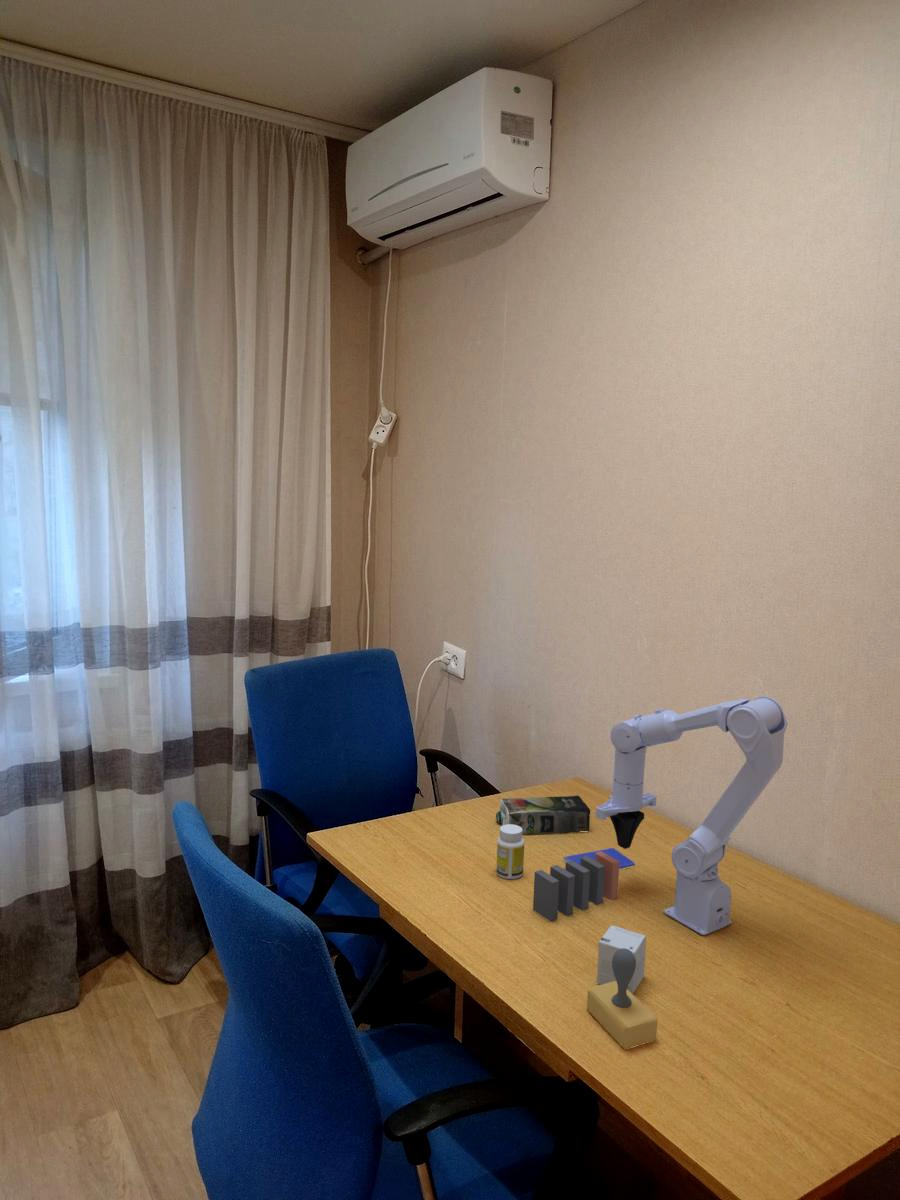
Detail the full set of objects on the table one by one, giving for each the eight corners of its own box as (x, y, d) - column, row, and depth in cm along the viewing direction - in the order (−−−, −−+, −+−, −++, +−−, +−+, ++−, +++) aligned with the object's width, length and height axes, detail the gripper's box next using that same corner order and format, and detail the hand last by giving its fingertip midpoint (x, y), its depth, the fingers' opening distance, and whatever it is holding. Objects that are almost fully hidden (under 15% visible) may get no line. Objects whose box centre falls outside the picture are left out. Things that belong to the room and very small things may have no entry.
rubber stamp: (585, 1009, 128) (589, 936, 126) (617, 1001, 130) (621, 929, 128) (624, 1051, 119) (629, 972, 117) (657, 1041, 121) (663, 964, 119)
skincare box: (644, 977, 137) (647, 934, 135) (632, 996, 131) (635, 952, 130) (608, 965, 140) (611, 923, 139) (595, 983, 134) (598, 940, 133)
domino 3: (570, 896, 162) (572, 860, 161) (587, 908, 158) (590, 870, 157) (563, 899, 161) (565, 862, 160) (581, 910, 157) (583, 872, 156)
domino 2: (554, 902, 160) (557, 864, 159) (572, 913, 156) (575, 875, 154) (548, 904, 159) (550, 866, 158) (566, 916, 155) (568, 877, 154)
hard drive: (585, 872, 170) (635, 863, 175) (563, 855, 177) (612, 846, 182) (584, 880, 170) (635, 870, 175) (563, 862, 177) (611, 853, 182)
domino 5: (598, 887, 166) (601, 851, 165) (617, 898, 162) (619, 861, 161) (593, 889, 165) (595, 853, 164) (611, 900, 161) (613, 863, 160)
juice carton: (503, 837, 188) (504, 811, 187) (494, 820, 197) (495, 795, 197) (589, 835, 191) (591, 809, 190) (576, 818, 201) (578, 793, 200)
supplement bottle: (523, 868, 173) (525, 824, 171) (522, 880, 168) (525, 835, 166) (496, 866, 173) (498, 822, 172) (495, 878, 168) (497, 833, 167)
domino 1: (539, 907, 158) (541, 869, 156) (557, 919, 153) (559, 880, 152) (532, 909, 157) (534, 871, 156) (550, 921, 153) (552, 883, 151)
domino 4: (584, 891, 164) (586, 855, 163) (602, 903, 160) (605, 866, 159) (578, 894, 163) (580, 857, 162) (596, 905, 159) (598, 868, 158)
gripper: (639, 767, 170) (635, 830, 172) (586, 780, 162) (582, 846, 164) (666, 778, 164) (661, 844, 166) (612, 792, 156) (608, 861, 158)
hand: (623, 846), depth 165 cm, fingers closed
